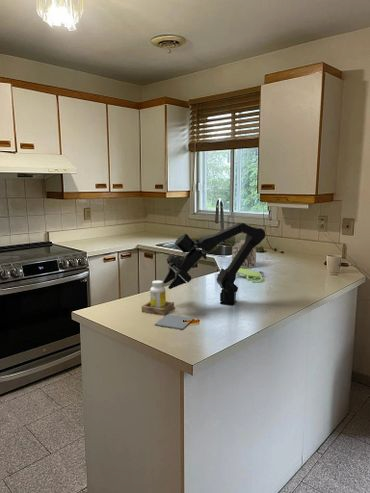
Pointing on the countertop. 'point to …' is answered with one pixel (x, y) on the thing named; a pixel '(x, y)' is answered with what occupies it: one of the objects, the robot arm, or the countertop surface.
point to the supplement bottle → (157, 295)
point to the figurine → (251, 274)
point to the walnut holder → (159, 311)
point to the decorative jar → (251, 258)
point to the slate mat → (173, 322)
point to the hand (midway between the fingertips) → (166, 285)
